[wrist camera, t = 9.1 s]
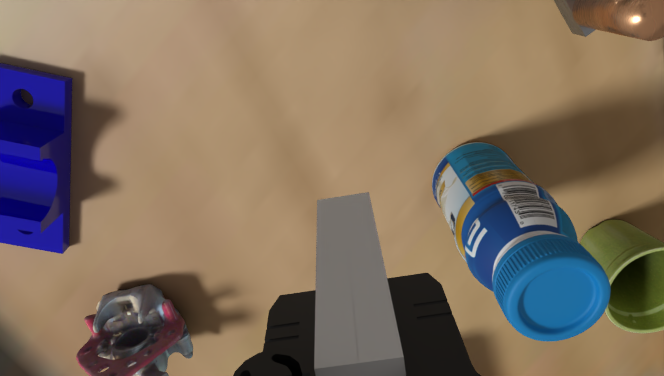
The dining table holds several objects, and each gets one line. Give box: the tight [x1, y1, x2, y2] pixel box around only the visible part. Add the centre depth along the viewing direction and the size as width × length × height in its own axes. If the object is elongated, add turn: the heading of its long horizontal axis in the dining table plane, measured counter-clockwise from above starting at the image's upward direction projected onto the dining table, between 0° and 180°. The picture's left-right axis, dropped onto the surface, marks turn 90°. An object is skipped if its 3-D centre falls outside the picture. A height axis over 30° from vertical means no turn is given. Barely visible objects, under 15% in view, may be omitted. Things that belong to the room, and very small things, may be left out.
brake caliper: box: [76, 284, 193, 376], centre depth 52 cm, size 11×11×12 cm
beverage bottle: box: [432, 142, 611, 341], centre depth 40 cm, size 8×8×20 cm
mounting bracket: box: [0, 63, 72, 254], centre depth 45 cm, size 18×7×6 cm, turn 167°
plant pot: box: [580, 220, 664, 333], centre depth 49 cm, size 9×9×9 cm
